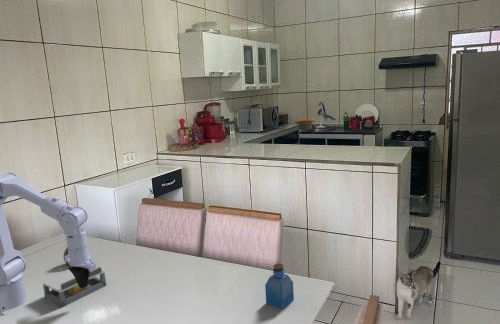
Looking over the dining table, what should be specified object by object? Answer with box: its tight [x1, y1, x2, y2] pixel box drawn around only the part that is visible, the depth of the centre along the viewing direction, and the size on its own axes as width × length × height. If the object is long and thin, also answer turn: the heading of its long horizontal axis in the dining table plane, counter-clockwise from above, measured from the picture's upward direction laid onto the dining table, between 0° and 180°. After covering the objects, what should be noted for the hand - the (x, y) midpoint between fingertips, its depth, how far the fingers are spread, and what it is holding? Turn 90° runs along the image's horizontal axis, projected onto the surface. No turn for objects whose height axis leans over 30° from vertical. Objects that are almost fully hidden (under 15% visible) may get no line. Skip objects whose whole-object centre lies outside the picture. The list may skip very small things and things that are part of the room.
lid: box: [42, 266, 105, 293], centre depth 132 cm, size 16×11×2 cm
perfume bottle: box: [264, 263, 295, 310], centre depth 120 cm, size 6×6×12 cm
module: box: [68, 285, 87, 295], centre depth 132 cm, size 4×4×5 cm
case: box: [42, 272, 107, 308], centre depth 133 cm, size 16×11×6 cm
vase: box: [63, 247, 71, 267], centre depth 157 cm, size 7×7×9 cm
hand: (83, 286), depth 123 cm, fingers closed
